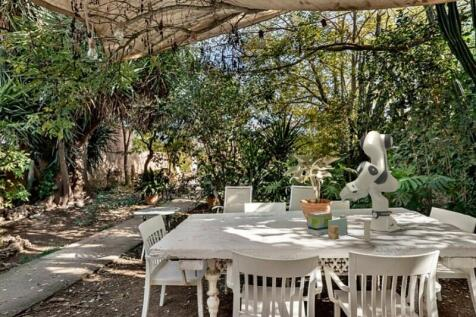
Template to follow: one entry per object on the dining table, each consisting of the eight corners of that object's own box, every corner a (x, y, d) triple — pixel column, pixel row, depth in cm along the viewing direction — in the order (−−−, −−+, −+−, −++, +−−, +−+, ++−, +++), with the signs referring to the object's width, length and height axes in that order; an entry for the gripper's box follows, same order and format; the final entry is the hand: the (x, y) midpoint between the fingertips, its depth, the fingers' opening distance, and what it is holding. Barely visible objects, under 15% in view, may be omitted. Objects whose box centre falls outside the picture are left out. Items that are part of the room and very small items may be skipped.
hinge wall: (342, 233, 262) (342, 215, 262) (346, 233, 259) (345, 215, 259) (339, 233, 261) (339, 215, 261) (343, 234, 258) (342, 216, 258)
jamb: (367, 239, 242) (367, 220, 242) (370, 240, 240) (370, 220, 240) (363, 240, 241) (363, 220, 240) (366, 241, 238) (366, 221, 238)
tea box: (318, 236, 255) (318, 214, 254) (307, 233, 263) (307, 212, 262) (332, 232, 263) (332, 212, 263) (321, 230, 271) (321, 210, 271)
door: (345, 233, 259) (345, 217, 259) (347, 234, 257) (347, 218, 257) (326, 236, 251) (326, 220, 251) (329, 236, 249) (329, 220, 249)
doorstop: (333, 237, 251) (333, 225, 251) (338, 238, 246) (338, 226, 246) (328, 237, 249) (328, 226, 248) (333, 239, 244) (333, 227, 244)
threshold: (349, 234, 256) (349, 234, 256) (364, 238, 244) (364, 238, 244) (346, 235, 255) (346, 234, 255) (361, 239, 243) (361, 238, 243)
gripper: (368, 182, 237) (357, 196, 246) (344, 183, 228) (333, 198, 237) (374, 190, 233) (362, 203, 242) (349, 191, 224) (338, 205, 233)
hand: (348, 200), depth 239 cm, fingers open, 8 cm apart
